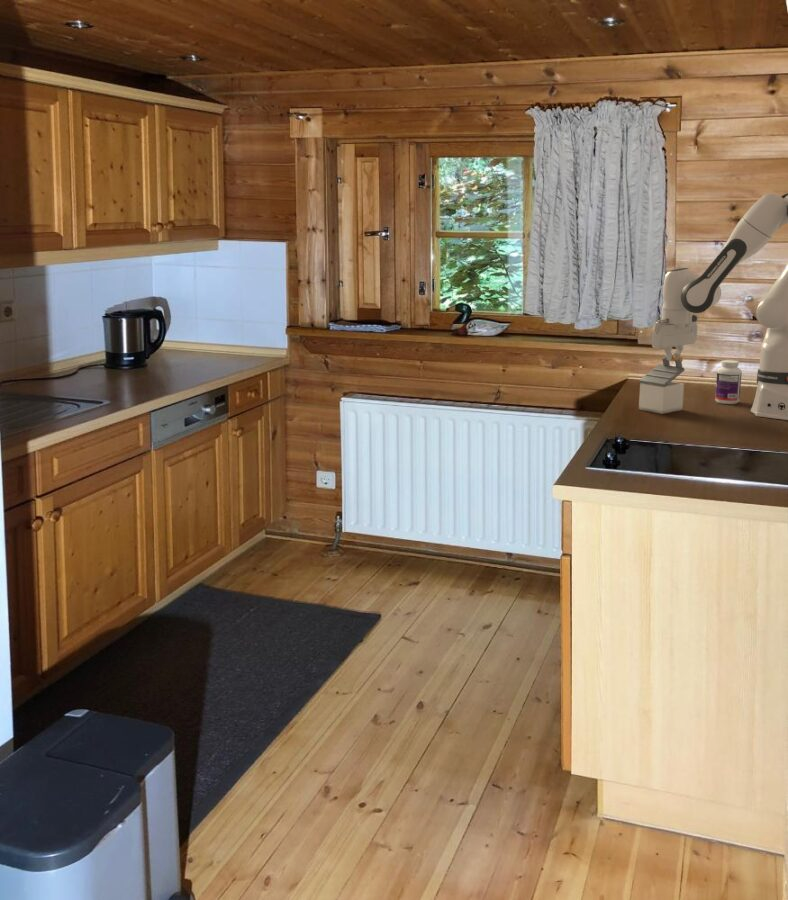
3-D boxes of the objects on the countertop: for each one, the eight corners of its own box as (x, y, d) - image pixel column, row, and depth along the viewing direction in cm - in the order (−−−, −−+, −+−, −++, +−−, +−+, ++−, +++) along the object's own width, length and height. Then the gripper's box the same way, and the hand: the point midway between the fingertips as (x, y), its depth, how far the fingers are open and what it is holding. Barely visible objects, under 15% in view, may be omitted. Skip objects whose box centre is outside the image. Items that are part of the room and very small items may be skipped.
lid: (664, 386, 342) (662, 377, 341) (639, 382, 350) (637, 373, 348) (689, 366, 349) (687, 357, 348) (664, 363, 357) (662, 353, 355)
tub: (682, 409, 352) (684, 383, 350) (662, 413, 345) (663, 387, 343) (658, 405, 359) (660, 379, 357) (638, 409, 352) (640, 383, 350)
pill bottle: (722, 399, 369) (725, 358, 366) (743, 402, 364) (746, 361, 361) (710, 402, 364) (713, 361, 361) (731, 405, 358) (735, 363, 355)
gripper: (664, 321, 339) (662, 363, 342) (701, 316, 352) (699, 357, 355) (647, 319, 344) (646, 361, 347) (685, 314, 356) (683, 355, 359)
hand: (673, 359), depth 351 cm, fingers open, 2 cm apart
